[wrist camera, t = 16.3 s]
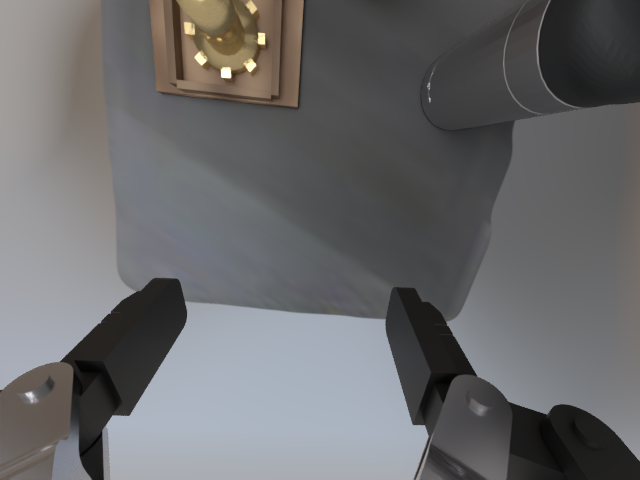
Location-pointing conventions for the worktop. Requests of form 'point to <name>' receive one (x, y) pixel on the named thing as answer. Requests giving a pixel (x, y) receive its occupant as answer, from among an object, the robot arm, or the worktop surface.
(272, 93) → the gear board
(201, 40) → the gear shaft
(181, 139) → the worktop surface
